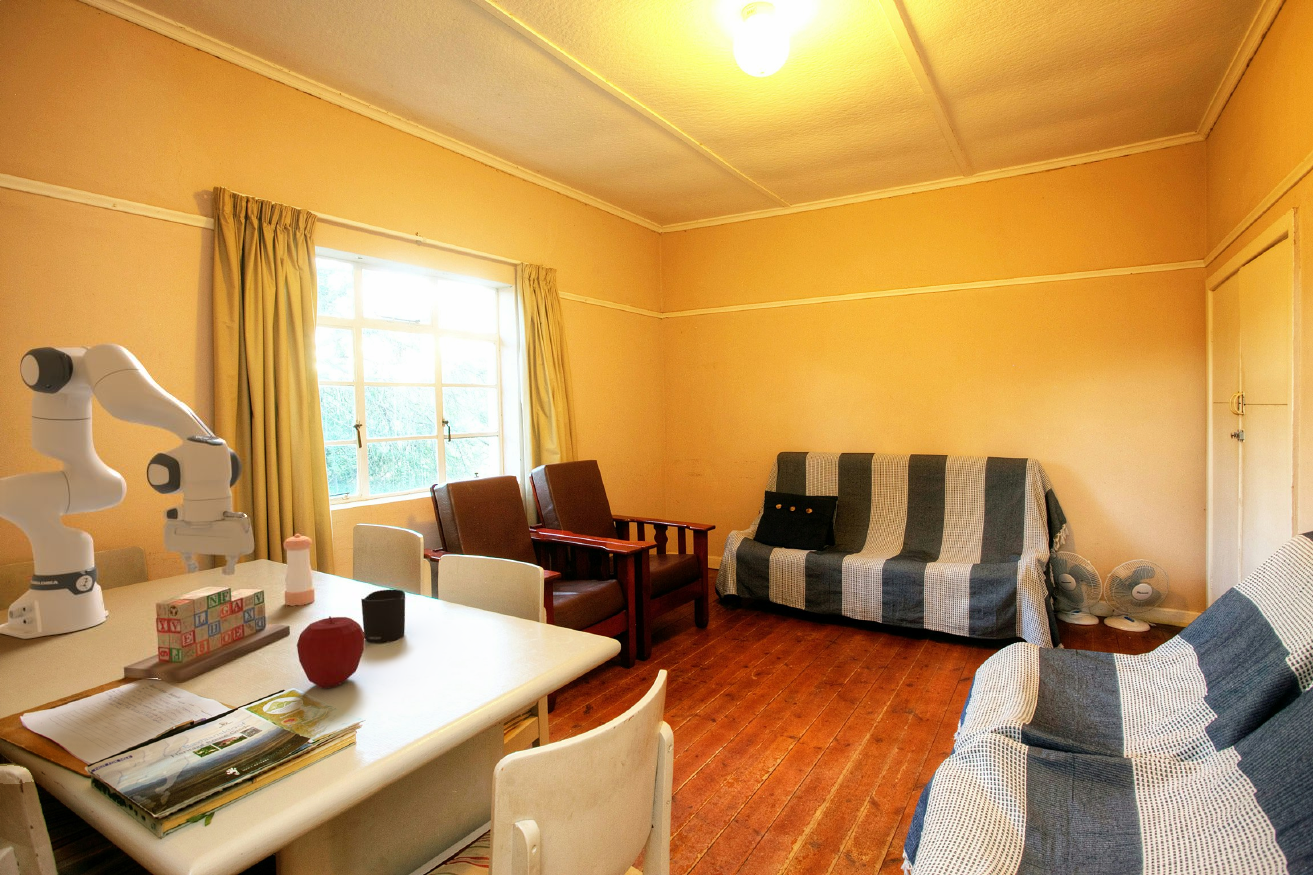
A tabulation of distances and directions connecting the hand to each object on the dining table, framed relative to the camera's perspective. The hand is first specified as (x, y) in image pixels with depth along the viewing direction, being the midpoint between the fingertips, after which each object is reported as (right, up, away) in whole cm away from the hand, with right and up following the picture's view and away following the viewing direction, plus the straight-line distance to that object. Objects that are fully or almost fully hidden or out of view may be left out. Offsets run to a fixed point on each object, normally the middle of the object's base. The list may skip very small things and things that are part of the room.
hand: (210, 573), depth 142 cm
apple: (+35, -18, -16) cm, 42 cm away
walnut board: (+1, -18, +1) cm, 18 cm away
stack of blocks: (+1, -16, +1) cm, 16 cm away
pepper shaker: (-2, -16, +39) cm, 42 cm away
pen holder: (+34, -17, +10) cm, 39 cm away
